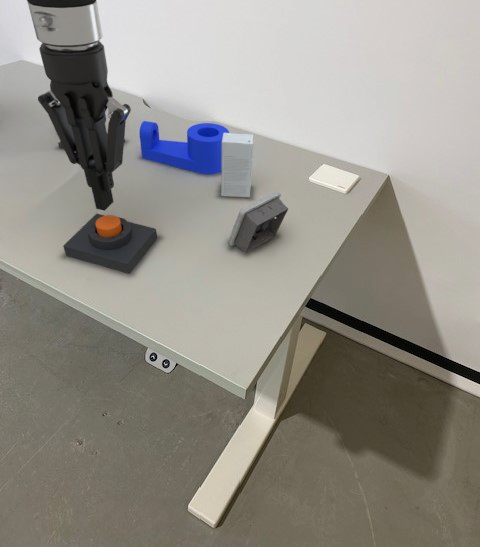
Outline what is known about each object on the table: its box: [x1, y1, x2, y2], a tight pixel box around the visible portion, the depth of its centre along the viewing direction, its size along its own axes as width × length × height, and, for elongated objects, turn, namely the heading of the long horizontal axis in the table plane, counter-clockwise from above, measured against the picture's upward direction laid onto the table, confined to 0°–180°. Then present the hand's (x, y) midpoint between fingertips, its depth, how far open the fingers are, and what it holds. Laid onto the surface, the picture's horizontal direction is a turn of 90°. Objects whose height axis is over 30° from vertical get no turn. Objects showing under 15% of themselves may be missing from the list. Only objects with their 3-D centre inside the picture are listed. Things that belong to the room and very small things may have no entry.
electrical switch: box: [228, 190, 289, 254], centre depth 73 cm, size 9×5×9 cm, turn 133°
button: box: [96, 214, 122, 237], centre depth 70 cm, size 4×4×2 cm
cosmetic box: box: [220, 132, 254, 199], centre depth 84 cm, size 6×4×12 cm
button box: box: [62, 213, 158, 274], centre depth 72 cm, size 12×10×4 cm
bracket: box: [138, 120, 230, 175], centre depth 94 cm, size 20×9×8 cm, turn 76°
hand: (105, 205), depth 67 cm, fingers closed
